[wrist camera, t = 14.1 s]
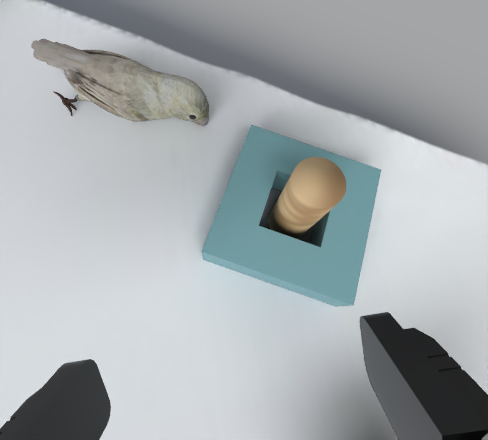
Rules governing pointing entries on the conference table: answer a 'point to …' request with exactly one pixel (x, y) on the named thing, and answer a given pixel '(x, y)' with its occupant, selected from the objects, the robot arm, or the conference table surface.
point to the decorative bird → (124, 84)
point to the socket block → (285, 247)
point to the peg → (307, 196)
